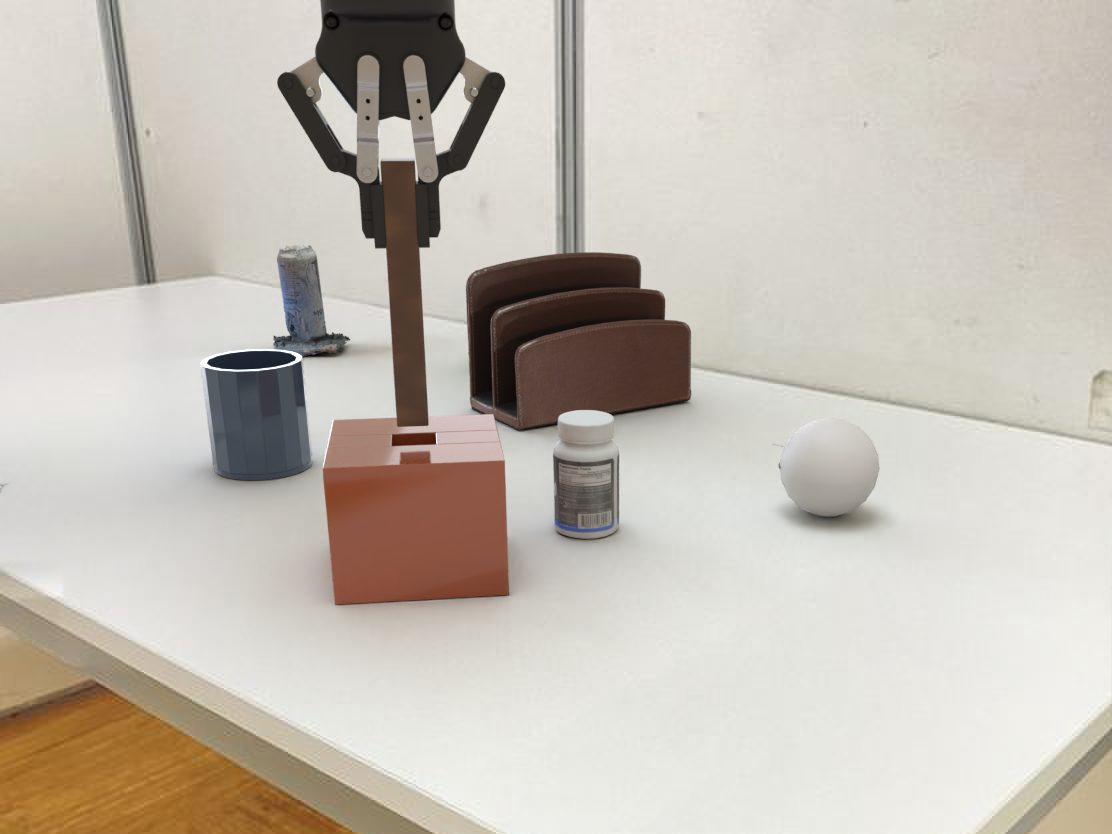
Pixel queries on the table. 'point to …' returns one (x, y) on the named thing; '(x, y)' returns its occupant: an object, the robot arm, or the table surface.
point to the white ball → (829, 467)
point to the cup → (257, 413)
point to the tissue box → (416, 509)
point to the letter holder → (571, 339)
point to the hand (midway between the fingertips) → (402, 245)
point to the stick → (405, 291)
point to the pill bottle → (586, 475)
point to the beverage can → (303, 304)
